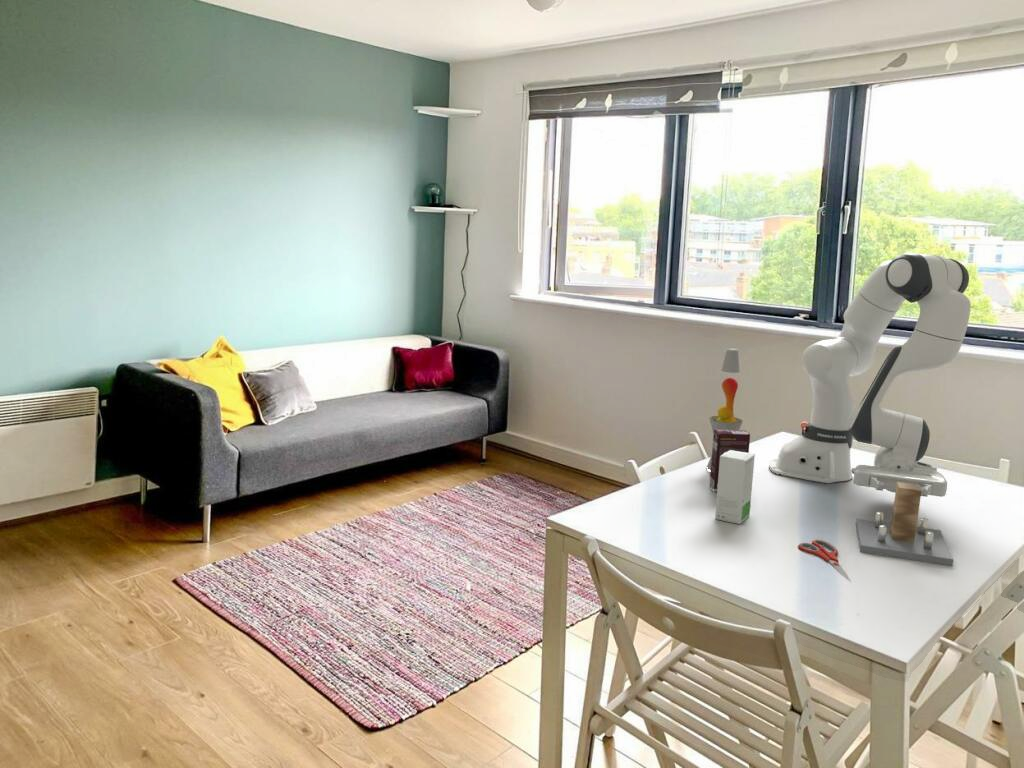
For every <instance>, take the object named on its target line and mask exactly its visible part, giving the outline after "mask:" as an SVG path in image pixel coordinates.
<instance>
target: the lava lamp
mask: <svg viewBox="0 0 1024 768" xmlns="http://www.w3.org/2000/svg"><path fill="white" fill-rule="evenodd" d="M721 372H724V373H731V374H732V373H735V374H736V373H740V356H739V349H737V348H727V349H726V352H725V356H724V359H723V364H722V367H721ZM738 383H739V382H738V381H737V380H736V379H735V378H733V377H727V378H725V379H724V380H722V383H721V388H722V391H723V393H724V396H725V405H723V406H721V407H719V408H718V409H717V415H714V416H710V417H709V423H710V426H711V430H712V435H714V429H716V430H741V426H742V424H743V420H742V419H741V418H738V417H735V414H734V404H735V397H736V394H737V390H738V388H739V385H738ZM711 461H712V454H711V455H710V457H709V460H708V461H707V465H706V467H708V469H710V470H711Z"/></svg>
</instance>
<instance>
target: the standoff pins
mask: <svg viewBox="0 0 1024 768" xmlns="http://www.w3.org/2000/svg"><path fill="white" fill-rule="evenodd" d="M883 520H884V512H881V511H875V519H874V521H875V524H874V527H875V528H878V529H879V532H878V539H877V541H878V542H881V543H885V540H886V533H887V526H885V525H882V522H884V521H883ZM928 523H929V519H928V518H926V517H920V518H919V525H918V527H919V530H918V534H920V535H925V539H924V546H923V548H924V549H927V550H931V549H932V542H933V536H934V533H932V532H926V530H927V528H928Z"/></svg>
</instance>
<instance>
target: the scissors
mask: <svg viewBox="0 0 1024 768" xmlns="http://www.w3.org/2000/svg"><path fill="white" fill-rule="evenodd" d="M809 547H810V548H809ZM797 548H798V550H800V551H801V552H803V553H806V554H809V555H813V556H816V557H818V558H820V559H821V560H823V561H824V562H826V563H829V564H830V565H831V567H833V569H835V571H837V572H838V573H839V574H840V575H841V576H842V577H843V578H845V579H846V580H847V581H848V582H850V583H852V580H851V579H850V577H849V576H848V574H847V573H846V571H845V569H843V567H842V566H841V564H840V563H839V560H838V558H837V556H838V555H839V551H838V549H837V548H836V547H835V546H834V545H833V544H831V543H829V542H827V541H825V540H822V539H814V540H812V541H811V543H809V542H800V543H799V544H798V545H797ZM827 549H829V550H830V551H828V550H827ZM831 550H832V551H831Z"/></svg>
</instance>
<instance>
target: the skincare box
mask: <svg viewBox="0 0 1024 768" xmlns="http://www.w3.org/2000/svg"><path fill="white" fill-rule="evenodd" d="M755 454H756V453H751V452H749V453H746V452H739V451H733V450H729V451H728V452H725V453H724V454H723V455H721V456H720V463H719V476H718V488H717V492H716V501H715V502H716V503H715V512H714V513H715V514H714V519H715V520H718V521H722V522H726V523H731V524H736V525H737V524H738V525H741V524H742V523H743V522H745V521H746V519H747V518H749V516H750V514H751V502H752V490H753V480H754V478H753V477H754V467H755V457H756V455H755Z"/></svg>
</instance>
